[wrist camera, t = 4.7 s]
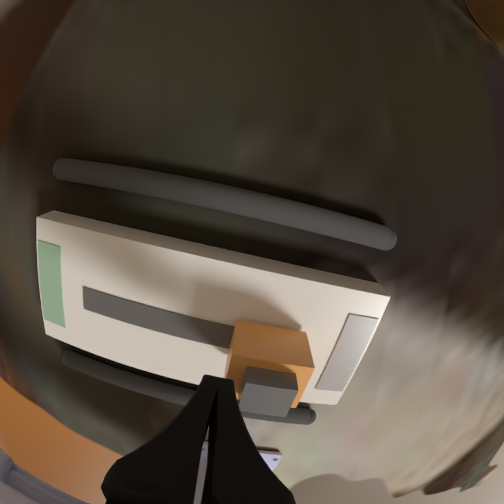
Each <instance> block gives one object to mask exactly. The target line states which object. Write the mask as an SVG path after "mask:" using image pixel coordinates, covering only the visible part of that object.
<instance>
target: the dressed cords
mask: <svg viewBox="0 0 504 504" xmlns="http://www.w3.org/2000/svg"><path fill="white" fill-rule="evenodd" d="M52 171H53V175H54V176H55V178H57V179H59V180H64V181H70V182H76V183H82V184H88V185H93V186H99V187H104V188H110V189H115V190H121V191H126V192H131V193H137V194H142V195H147V196H152V197H157V198H162V199H167V200H172V201H177V202H182V203H187V204H192V205H196V206H201V207H206V208H210V209H215V210H220V211H224V212H229V213H233V214H238V215H242V216H247V217H251V218H255V219H260V220H264V221H268V222H273V223H277V224H281V225H285V226H290V227H294V228H298V229H302V230H306V231H310V232H314V233H318V234H322V235H326V236H330V237H334V238H338V239H342V240H346V241H350V242H354V243H358V244H362V245H365V246H369V247H373V248H377V249H380V250H390V249H392V248H393V247H394V246H395V244H396V241H397V236H396V233H395V231H394V230H393V229H392V228H390V227H387V226H384V225H381V224H377V223H374V222H370V221H367V220H364V219H360V218H357V217H353V216H350V215H346V214H342V213H339V212H335V211H332V210H328V209H324V208H320V207H317V206H313V205H309V204H305V203H301V202H297V201H293V200H289V199H285V198H281V197H277V196H273V195H269V194H264V193H260V192H256V191H251V190H247V189H242V188H238V187H233V186H229V185H224V184H219V183H214V182H210V181H205V180H200V179H195V178H190V177H184V176H179V175H174V174H168V173H163V172H157V171H151V170H145V169H139V168H133V167H127V166H120V165H114V164H107V163H100V162H93V161H86V160H78V159H70V158H60V159H58V160H57V161H56V162H55V163H54V165H53V170H52ZM61 361H62V363H63V364H64V365H66V366H68V367H70V368H73V369H75V370H77V371H80V372H82V373H85V374H87V375H90V376H92V377H95V378H98V379H100V380H103V381H106V382H108V383H111V384H114V385H117V386H120V387H123V388H126V389H129V390H132V391H135V392H138V393H141V394H145V395H148V396H151V397H155V398H158V399H162V400H166V401H169V402H173V403H177V404H181V405H186V404H187V403H188V401H189V400H190V398H191V397H192V396H193V394H194V393H195V391H196V390H192V389H188V388H184V387H180V386H176V385H172V384H168V383H165V382H161V381H157V380H154V379H150V378H147V377H144V376H140V375H137V374H134V373H131V372H128V371H125V370H122V369H119V368H116V367H113V366H110V365H107V364H104V363H101V362H99V361H96V360H93V359H91V358H88V357H86V356H83V355H80V354H78V353H75V352H73V351H71V350H65V351H63V352H62V354H61ZM237 401H238V400H237ZM241 414H242V417H245V418H252V419H259V420H266V421H275V422H284V423H294V424H306V425H307V424H311V423H313V422H314V421H315V419H316V413H315V412H314V410H312V409H309V408H300V407H296V408H290V409H289V411H288V413H287V415H286V417H278V416H270V415H263V414H256V413H249V412H243V411H241Z"/></svg>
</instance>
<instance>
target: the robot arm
mask: <svg viewBox="0 0 504 504" xmlns="http://www.w3.org/2000/svg"><path fill="white" fill-rule="evenodd" d="M208 426H209V435H208V442H205V441H204V440H205V436H206V433H207V430H208ZM281 458H282V453H280V452H273V451H263V450H257V448H256V446H255V444H254V442H253V441H252V439H251V437H250V434H249V432H248V430H247V428H246V425H245V423H244V420H243V417H242V414H241V411H240V408H239V405H238V401H237V397H236V392H235V385H234V381H233V380H231V379H226V378H221V377H216V376H212V375H207V374H205V375H203V377H202V380H201V382H200V384H199V386H198V388H197V389H196V391H195V393H194V394H193V396H192V397H191V398H190V400H189V401H188V403H187V404H186V405H185V406H184V408H183V409H182V410H181V411H180V412H179V414H178V415H177V416H176V417H175V418H174V419H173V420H172V421H171V422H170V423H169V424H168V425H167V426H166V427H165V428H164V429H163V430H162V431H160V432H159V433H158V434H157V435H156V436H155V437H153V438H152V439H151V440H149V441H148V442H146V443H145V444H144V445H142V446H141V447H139V448H138V449H136V450H134V451H133V452H131V453H129V454H127V455H126V456H124V457H122V458H120V459H118V460H117V461H116V462H115V463H114V464H113V465H112V467H111V468H110V469H109V471H108V472H107V474H106V476H105V478H104V480H103V483H102V485H101V489H102V492H103V494H104V496H105V498H106V500H107V501H106V503H105V504H296V503H295V500H294V497H293V494H292V492H291V491H290V490H289V489H288V488H287V487H286V486H285V485H284V484H283V483H282V482H281V481H280V480H279V479H278V478H277V476H276V475H275V474H274V473H273V470H274V469H275V467H276V466H277V464H278V463H279V461H280V459H281ZM0 504H89V503H86V502H84V501H81V500H80V499H77V498H75V497H73V496H71V495H69V494H67V493H65V492H63V491H61V490H59V489H57V488H55V487H53V486H51V485H50V484H48V483H46V482H44V481H42V480H41V479H39V478H37V477H35V476H34V475H32V474H30V473H29V472H27V471H26V470H24V469H22V468H21V467H19V466H18V465H16V464H15V463H14V461H13V460H12V458H11V457H10V456H9V455H8V454H7V453H6V452H4V451H3V450H2V449H0Z"/></svg>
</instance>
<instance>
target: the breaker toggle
mask: <svg viewBox="0 0 504 504" xmlns="http://www.w3.org/2000/svg"><path fill="white" fill-rule="evenodd" d="M314 369H315V366H314V362H313V358H312V354H311V350H310V345H309V341H308V337H307V333H306V332H302V331H296V330H291V329H285V328H280V327H275V326H269V325H264V324H259V323H254V322H249V321H244V320H239V319H236V323H235V327H234V331H233V335H232V339H231V344H230V348H229V352H228V356H227V360H226V367H225V374H224V378H226V379H231V380H233V381H234V385H235V392H236V397H237V400H238V405H239V408H240V411H243V412H249V413H256V414H263V415H270V416H278V417H286V415H287V413H288V411H289V409H290V408H296V407H297V405H298V403H299V401H300V399H301V397H302V395H303V393H304V390H305V388H306V386H307V384H308V382H309V380H310V378H311V376H312V374H313V371H314Z"/></svg>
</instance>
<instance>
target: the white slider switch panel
mask: <svg viewBox="0 0 504 504" xmlns="http://www.w3.org/2000/svg"><path fill="white" fill-rule="evenodd" d="M36 236H37V264H38V278H39V289H40V298H41V306H42V313H43V320H44V326H45V332H46V334H47V335H49V336H51V337H54V338H56V339H58V340H61V341H63V342H65V343H68V344H70V345H73V346H75V347H78V348H80V349H83V350H85V351H88V352H91V353H93V354H96V355H99V356H102V357H104V358H107V359H110V360H113V361H116V362H119V363H122V364H125V365H128V366H131V367H134V368H137V369H141V370H144V371H147V372H151V373H154V374H158V375H161V376H165V377H169V378H173V379H176V380H180V381H184V382H189V383H193V384H197V385H199V384H200V382H201V380H202V377H203V375H205V374H207V375H212V376H216V377H221V378H224V374H225V367H226V360H227V356H228V352H229V348H230V344H231V339H232V335H233V331H234V327H235V323H236V319H239V320H244V321H249V322H254V323H259V324H264V325H269V326H275V327H280V328H285V329H291V330H296V331H302V332H306V333H307V337H308V341H309V345H310V350H311V354H312V358H313V362H314V366H315V369H314V371H313V374H312V376H311V378H310V380H309V382H308V384H307V386H306V388H305V390H304V393H303V395H302V397H301V399H300V401H299V402H307V403H318V404H331V405H336V404H337V402H338V401H339V399H340V397H341V396H342V394H343V392H344V390H345V389H346V387H347V385H348V383H349V382H350V380H351V378H352V376H353V374H354V372H355V371H356V369H357V367H358V365H359V363H360V361H361V359H362V357H363V355H364V353H365V351H366V349H367V347H368V345H369V343H370V341H371V339H372V337H373V335H374V333H375V331H376V328H377V326H378V324H379V322H380V320H381V317H382V315H383V313H384V311H385V308H386V306H387V304H388V301H389V299H390V296H389V295H388V294H387V292H386V291H385V290H384V289H383V288H382V287H381V285H380V284H379V283H375V282H371V281H366V280H362V279H357V278H353V277H348V276H344V275H339V274H335V273H330V272H325V271H321V270H316V269H312V268H307V267H303V266H298V265H294V264H289V263H285V262H280V261H276V260H271V259H267V258H262V257H258V256H254V255H249V254H245V253H240V252H236V251H231V250H227V249H222V248H218V247H213V246H209V245H204V244H200V243H196V242H191V241H187V240H182V239H178V238H173V237H169V236H164V235H160V234H156V233H151V232H147V231H142V230H138V229H134V228H129V227H125V226H120V225H116V224H112V223H107V222H103V221H98V220H94V219H90V218H85V217H81V216H76V215H72V214H68V213H63V212H59V211H55V210H54V211H51V212H48V213H46V214H43V215H40V216H37V220H36Z"/></svg>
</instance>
